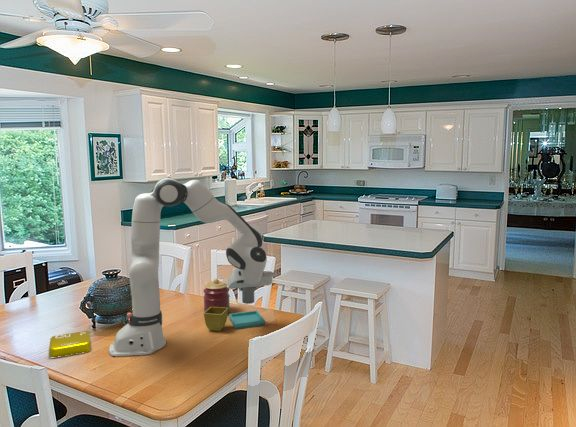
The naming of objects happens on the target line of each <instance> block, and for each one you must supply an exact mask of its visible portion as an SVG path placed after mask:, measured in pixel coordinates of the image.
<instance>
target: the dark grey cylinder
mask: <svg viewBox="0 0 576 427" xmlns="http://www.w3.org/2000/svg"><path fill="white" fill-rule="evenodd" d="M241 292H242V293H241V294H242V295H241V297H242V298H241V301H242V303H243V304H245V305H246V304H247V305H248V304H253V303H255V290H254V287H245V288H243V291H241Z"/></svg>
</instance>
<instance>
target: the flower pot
mask: <svg viewBox="0 0 576 427" xmlns="http://www.w3.org/2000/svg"><path fill="white" fill-rule="evenodd" d="M228 315H229V313H228V308H223V307H210V308H209V309H208V310H207V311H206V312H204V311H203V317H204V323H205V326H206V328H207V329H208V330H209V331H210V332H221V331H222V330H223V328H224V327H225V326H226V323H227V319H228Z"/></svg>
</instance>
